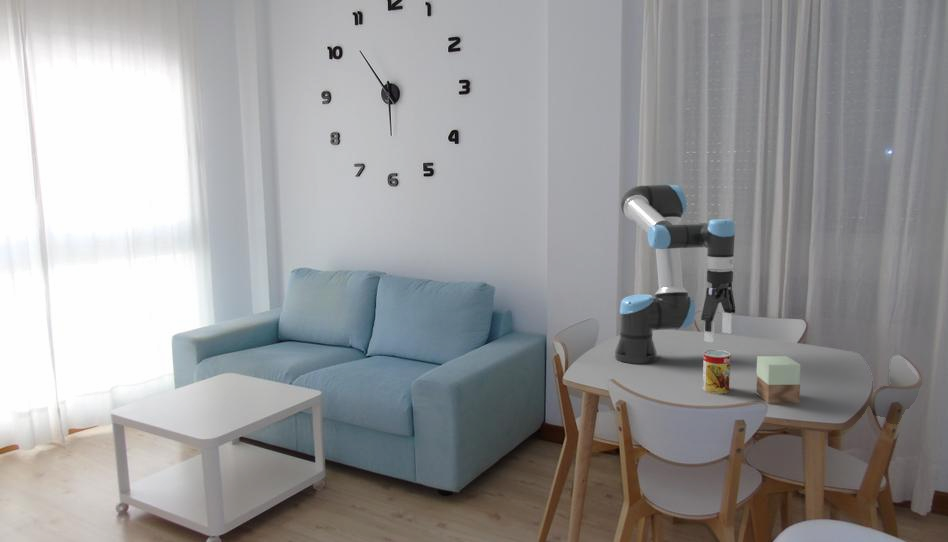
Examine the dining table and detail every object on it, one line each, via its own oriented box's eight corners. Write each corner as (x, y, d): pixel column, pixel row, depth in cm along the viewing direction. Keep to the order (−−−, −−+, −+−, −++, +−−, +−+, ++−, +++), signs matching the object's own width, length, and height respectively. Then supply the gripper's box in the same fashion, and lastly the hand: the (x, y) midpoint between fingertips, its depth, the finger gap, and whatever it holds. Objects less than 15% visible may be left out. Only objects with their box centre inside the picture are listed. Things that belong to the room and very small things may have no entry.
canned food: (731, 394, 199) (733, 357, 197) (705, 393, 200) (706, 356, 198) (725, 385, 207) (727, 349, 205) (700, 385, 208) (701, 349, 206)
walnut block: (767, 404, 191) (768, 384, 190) (756, 393, 199) (757, 375, 199) (799, 404, 190) (800, 384, 189) (786, 393, 199) (787, 374, 198)
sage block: (768, 384, 190) (769, 365, 189) (756, 375, 199) (757, 356, 198) (799, 384, 189) (800, 364, 188) (786, 374, 198) (787, 356, 197)
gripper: (715, 276, 186) (713, 347, 189) (747, 265, 204) (745, 331, 207) (690, 273, 191) (688, 343, 194) (724, 264, 209) (722, 327, 212)
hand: (718, 337), depth 200 cm, fingers open, 13 cm apart
